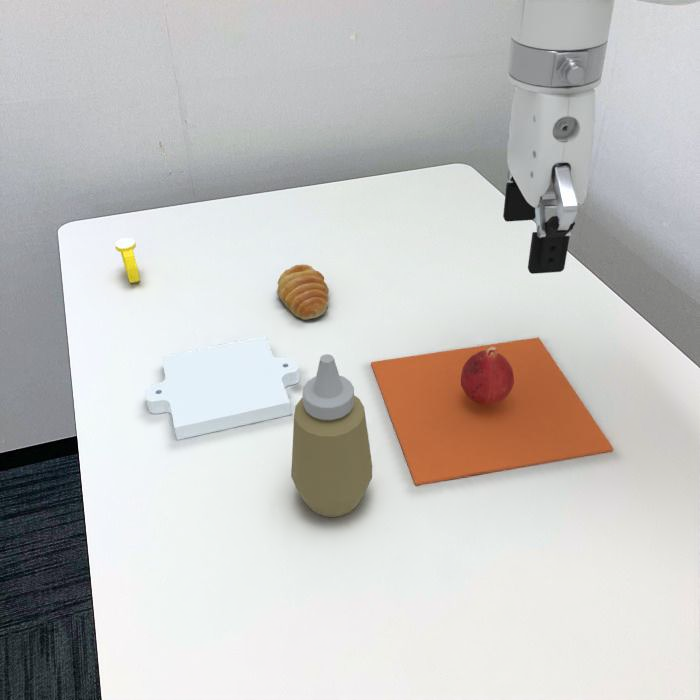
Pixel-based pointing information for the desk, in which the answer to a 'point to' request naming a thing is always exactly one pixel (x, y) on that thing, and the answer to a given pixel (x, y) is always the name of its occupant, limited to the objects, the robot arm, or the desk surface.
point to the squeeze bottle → (330, 443)
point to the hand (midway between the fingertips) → (531, 243)
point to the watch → (128, 258)
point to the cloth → (484, 414)
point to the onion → (487, 377)
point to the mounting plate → (223, 387)
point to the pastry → (303, 291)
